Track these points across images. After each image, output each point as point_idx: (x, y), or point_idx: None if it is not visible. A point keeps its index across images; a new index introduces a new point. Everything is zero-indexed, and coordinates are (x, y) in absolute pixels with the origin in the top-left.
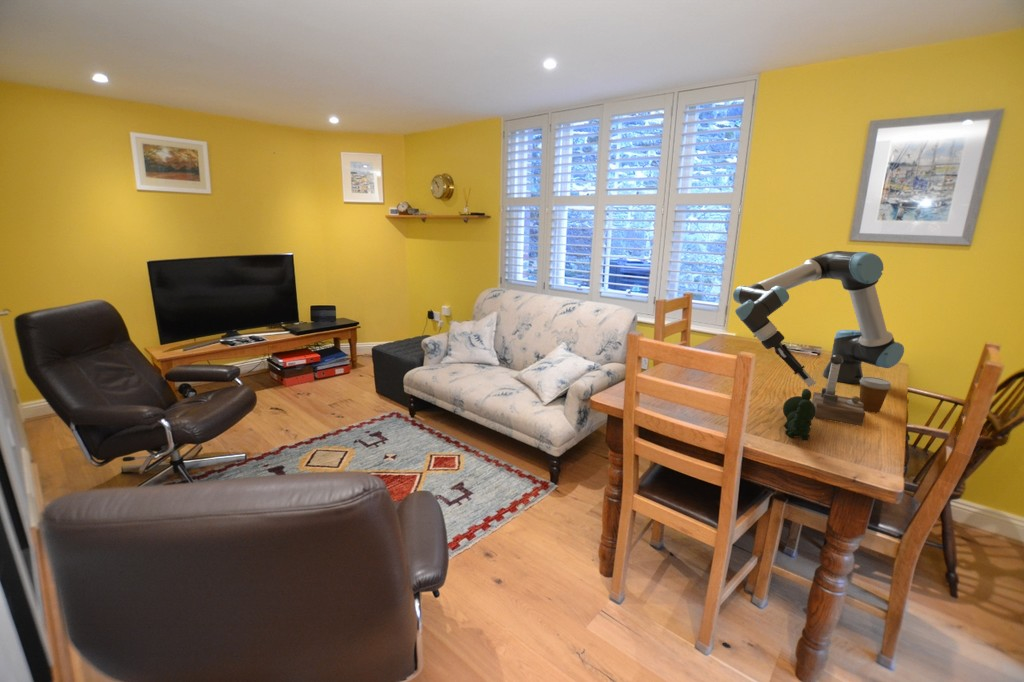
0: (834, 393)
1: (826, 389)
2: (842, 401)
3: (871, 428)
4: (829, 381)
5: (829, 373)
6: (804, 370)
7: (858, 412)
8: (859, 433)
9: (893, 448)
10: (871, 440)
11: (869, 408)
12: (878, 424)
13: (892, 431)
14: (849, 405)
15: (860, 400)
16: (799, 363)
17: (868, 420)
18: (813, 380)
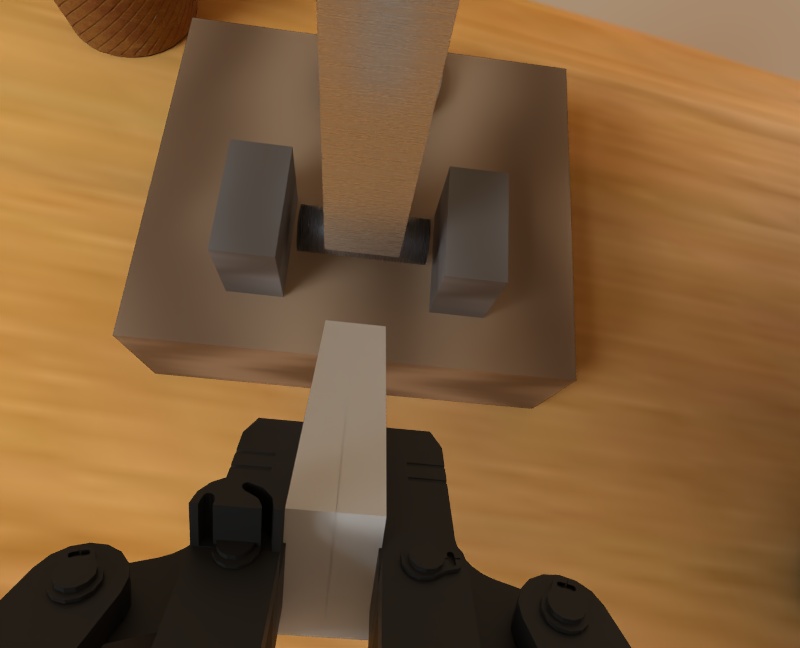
0: (292, 168)
1: (366, 230)
2: None
3: None
4: (419, 156)
5: (348, 80)
6: (383, 497)
7: (565, 106)
8: (672, 187)
9: (792, 88)
10: (748, 156)
11: (188, 2)
12: None
13: (515, 14)
14: None
15: (113, 6)
16: (40, 611)
17: None
18: (384, 351)
